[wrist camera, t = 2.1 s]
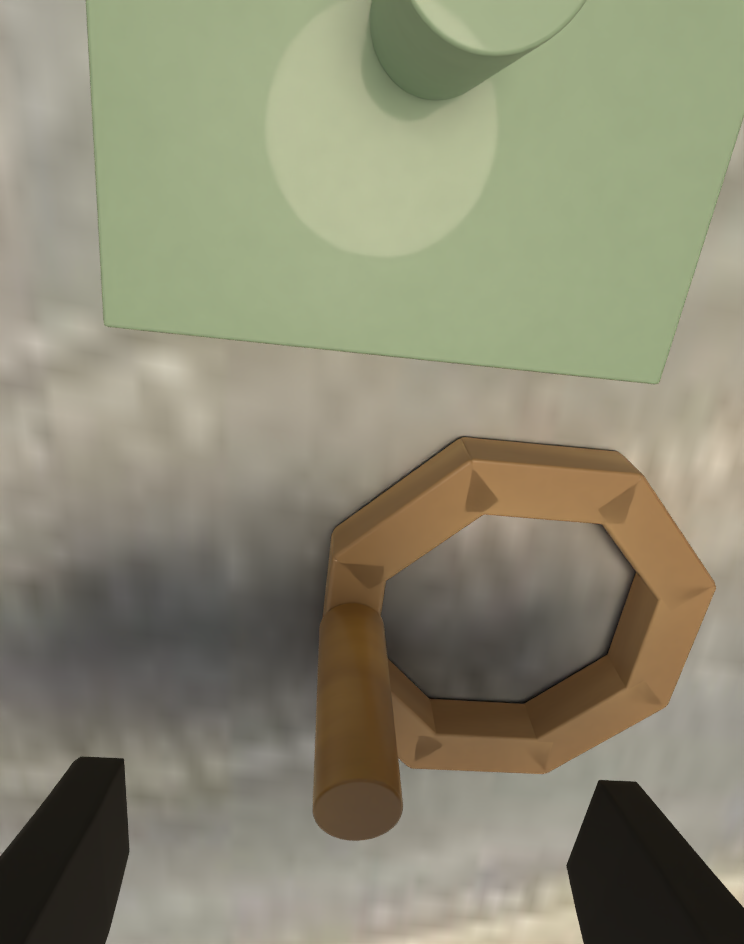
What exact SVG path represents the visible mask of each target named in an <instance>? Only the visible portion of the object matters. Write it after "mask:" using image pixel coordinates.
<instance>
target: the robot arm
mask: <svg viewBox="0 0 744 944" xmlns="http://www.w3.org/2000/svg"><path fill="white" fill-rule="evenodd" d="M128 855H129V835H128V818H127V802H126V785H125V768H124V759H123V758H101V757H80V758H78V759H77V760H75V761H74V762H73V763H72V764H71V766H70V767H69V769H68V770H67V771H66V773H65V774H64V775H63V777H62V778H61V779H60V781H59V782H58V783H57V785H56V786H55V787H54V789H53V790H52V791H51V793H50V794H49V795H48V797H47V798H46V799H45V801H44V802H43V803H42V804H41V806H40V807H39V808H38V810H37V811H36V812H35V814H34V815H33V816H32V817H31V819H30V820H29V821H28V822H27V824H26V825H25V826H24V827H23V829H22V830H21V831H20V832H19V834H18V835H17V836H16V837H15V839H14V840H13V841H12V842H11V844H10V845H9V846H8V847H7V849H6V850H5V851H4V852H3V854H2V855H1V856H0V944H105V942H106V940H107V937H108V934H109V931H110V927H111V923H112V919H113V915H114V911H115V907H116V904H117V900H118V896H119V892H120V888H121V884H122V880H123V876H124V871H125V867H126V863H127V859H128ZM566 866H567V870H568V875H569V880H570V885H571V889H572V894H573V899H574V904H575V908H576V913H577V917H578V921H579V925H580V930H581V934H582V938H583V942H584V944H744V908H743V907H742V905H741V904H740V903H739V902H738V901H737V900H736V899H735V897H734V896H733V895H732V894H731V893H730V892H729V890H728V889H727V888H726V887H725V886H724V885H723V884H722V882H721V881H720V880H719V879H718V878H717V877H716V875H715V874H714V873H713V872H712V871H711V869H710V868H709V867H708V866H707V865H706V864H705V862H704V861H703V860H702V859H701V858H700V857H699V855H698V854H697V853H696V852H695V851H694V849H693V848H692V847H691V846H690V845H689V844H688V842H687V841H686V840H685V839H684V838H683V836H682V835H681V834H680V833H679V832H678V830H677V829H676V828H675V827H674V826H673V825H672V823H671V822H670V821H669V820H668V819H667V817H666V816H665V815H664V814H663V813H662V811H661V810H660V809H659V808H658V807H657V805H656V804H655V803H654V802H653V801H652V800H651V798H650V797H649V796H648V795H647V794H646V793H645V791H644V790H643V789H642V788H641V787H640V786H639V784H638V783H637V782H631V781H609V780H599V781H598V783H597V786H596V789H595V791H594V794H593V797H592V799H591V802H590V805H589V807H588V810H587V813H586V815H585V818H584V820H583V823H582V826H581V828H580V831H579V834H578V836H577V839H576V842H575V844H574V847H573V849H572V852H571V855H570V857H569V860H568V863H567V865H566Z"/></svg>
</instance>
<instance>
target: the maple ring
mask: <svg viewBox="0 0 744 944" xmlns="http://www.w3.org/2000/svg"><path fill="white" fill-rule="evenodd" d="M483 514H486V515H498V516H510V517H522V518H535V519H547V520H559V521H571V522H583V523H595V524H602V525H603V527H604V528H605V530H606V531H607V532H608V534H609V535H610V536H611V538H612V539H613V541H614V542H615V543H616V545H617V546H618V547H619V549H620V550H621V552H622V553H623V554H624V556H625V557H626V558H627V560H628V561H629V563H630V564H631V565H632V567H633V568H634V569H635V571H636V574H635V577H634V580H633V583H632V586H631V588H630V591H629V594H628V597H627V600H626V603H625V606H624V609H623V612H622V614H621V617H620V620H619V623H618V626H617V629H616V632H615V635H614V638H613V640H612V643H611V646H610V649H609V652H608V654H607V655H606V656H604V657H602V658H601V659H599V660H597V661H596V662H594V663H592V664H591V665H589V666H587V667H585V668H584V669H582V670H580V671H579V672H577V673H575V674H574V675H572V676H570V677H569V678H567V679H565V680H563V681H562V682H560V683H558V684H557V685H555V686H553V687H552V688H550V689H548V690H547V691H545V692H543V693H541V694H540V695H538V696H536V697H535V698H533V699H531V700H530V701H528V702H526V703H525V704H519V703H500V702H482V701H463V700H444V699H429V698H428V697H427V696H426V695H425V694H424V693H423V692H422V691H421V690H420V689H419V688H418V687H417V686H416V685H414V684H413V683H412V682H411V681H410V680H409V679H408V678H407V677H406V676H405V675H404V674H403V673H402V672H401V671H400V670H399V669H398V668H397V667H396V666H395V665H394V664H393V663H392V662H391V661H390V660H389V659H388V658H387V649H386V640H385V630H384V623H383V620H382V618H381V611H382V604H383V598H384V591H385V585H386V581H387V580H388V579H390V578H391V577H392V576H394V575H395V574H397V573H398V572H400V571H401V570H403V569H404V568H406V567H407V566H409V565H410V564H411V563H413V562H414V561H416V560H417V559H419V558H420V557H422V556H423V555H425V554H426V553H428V552H429V551H431V550H432V549H433V548H435V547H436V546H438V545H439V544H441V543H442V542H444V541H445V540H447V539H448V538H450V537H451V536H453V535H454V534H455V533H457V532H458V531H460V530H461V529H463V528H464V527H466V526H467V525H469V524H470V523H472V522H473V521H475V520H476V519H477V518H479V517H480V516H482V515H483ZM715 589H716V586H715V582H714V580H713V579H712V577H711V576H710V574H709V573H708V571H707V570H706V568H705V567H704V565H703V564H702V562H701V561H700V559H699V558H698V556H697V555H696V553H695V552H694V550H693V549H692V547H691V546H690V544H689V543H688V541H687V540H686V538H685V537H684V535H683V534H682V532H681V531H680V529H679V528H678V526H677V525H676V523H675V522H674V520H673V519H672V517H671V516H670V514H669V513H668V511H667V510H666V508H665V507H664V505H663V504H662V502H661V501H660V499H659V498H658V496H657V495H656V493H655V492H654V490H653V489H652V487H651V486H650V484H649V483H648V481H647V480H646V478H645V477H644V475H643V474H642V473H641V472H640V471H639V470H638V469H637V468H635V467H634V466H633V465H632V464H631V463H630V462H629V461H628V460H627V459H626V458H625V457H624V456H623V455H622V454H620V453H619V452H616V451H606V450H595V449H584V448H574V447H563V446H552V445H542V444H531V443H520V442H510V441H499V440H488V439H478V438H467V437H462V438H461V439H458V440H456V441H455V442H454V443H452V444H451V445H449V446H448V447H447V448H445V449H444V450H442V451H441V452H440V453H438V454H437V455H436V456H434V457H433V458H431V459H430V460H429V461H427V462H426V463H424V464H423V465H422V466H420V467H419V468H418V469H416V470H415V471H413V472H412V473H411V474H409V475H408V476H406V477H405V478H404V479H402V480H401V481H400V482H398V483H397V484H395V485H394V486H393V487H391V488H390V489H388V490H387V491H386V492H384V493H383V494H381V495H380V496H379V497H377V498H376V499H375V500H373V501H372V502H370V503H369V504H368V505H366V506H365V507H363V508H362V509H361V510H359V511H358V512H357V513H355V514H354V515H352V516H351V517H350V518H348V519H347V520H345V521H344V522H343V523H341V524H340V525H339V526H337V527H336V528H335V529H334V530H333V533H332V535H331V544H330V553H329V563H328V572H327V581H326V591H325V600H324V609H323V619H322V621H321V623H320V627H319V652H318V679H317V705H316V732H315V759H314V786H313V816H314V819H315V821H316V823H317V824H318V826H319V827H320V828H321V829H322V830H323V831H324V832H326V833H327V834H329V835H331V836H333V837H336V838H339V839H344V840H352V841H359V840H367V839H372V838H375V837H378V836H380V835H382V834H384V833H386V832H388V831H389V830H390V829H392V828H393V827H394V826H395V825H396V824H397V822H398V821H399V819H400V817H401V814H402V811H403V800H402V791H401V781H400V772H399V763H398V758H399V759H400V760H401V761H402V762H403V763H404V764H406V765H407V766H408V767H410V768H413V769H437V770H460V771H484V772H507V773H531V774H544V773H548V772H550V771H552V770H553V769H555V768H557V767H559V766H561V765H562V764H564V763H566V762H568V761H570V760H571V759H573V758H575V757H577V756H579V755H580V754H582V753H584V752H586V751H588V750H589V749H591V748H593V747H595V746H597V745H598V744H600V743H602V742H604V741H606V740H607V739H609V738H611V737H613V736H615V735H616V734H618V733H620V732H622V731H624V730H625V729H627V728H629V727H631V726H633V725H634V724H636V723H638V722H640V721H642V720H643V719H645V718H647V717H649V716H650V715H652V714H654V713H656V712H658V711H659V710H661V709H663V708H665V707H666V705H668V703H669V701H670V698H671V696H672V693H673V691H674V689H675V686H676V684H677V681H678V679H679V677H680V674H681V672H682V669H683V667H684V664H685V662H686V660H687V657H688V655H689V652H690V650H691V647H692V645H693V643H694V640H695V638H696V635H697V633H698V631H699V628H700V626H701V623H702V621H703V618H704V616H705V614H706V611H707V609H708V606H709V604H710V601H711V599H712V597H713V594H714V592H715Z"/></svg>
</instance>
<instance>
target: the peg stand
mask: <svg viewBox="0 0 744 944" xmlns="http://www.w3.org/2000/svg"><path fill="white" fill-rule="evenodd" d="M86 14H87V32H88V50H89V68H90V86H91V104H92V122H93V140H94V158H95V176H96V194H97V212H98V230H99V248H100V266H101V284H102V302H103V320H104V325H105V326H107V327H114V328H123V329H133V330H142V331H152V332H161V333H171V334H180V335H190V336H199V337H209V338H219V339H228V340H238V341H247V342H257V343H266V344H276V345H285V346H295V347H304V348H314V349H323V350H333V351H342V352H352V353H362V354H371V355H381V356H390V357H400V358H409V359H419V360H428V361H438V362H447V363H457V364H466V365H476V366H485V367H495V368H505V369H514V370H524V371H533V372H543V373H552V374H562V375H571V376H581V377H590V378H600V379H609V380H619V381H628V382H638V383H648V384H658V383H659V382H660V379H661V376H662V373H663V369H664V366H665V363H666V360H667V357H668V354H669V351H670V347H671V344H672V341H673V338H674V335H675V332H676V329H677V325H678V322H679V319H680V316H681V313H682V310H683V307H684V303H685V300H686V297H687V294H688V291H689V288H690V284H691V281H692V278H693V275H694V272H695V269H696V266H697V262H698V259H699V256H700V253H701V250H702V247H703V244H704V240H705V237H706V234H707V231H708V228H709V225H710V221H711V218H712V215H713V212H714V209H715V206H716V203H717V199H718V196H719V193H720V190H721V187H722V184H723V181H724V177H725V174H726V171H727V168H728V165H729V162H730V158H731V155H732V152H733V149H734V146H735V143H736V140H737V136H738V133H739V130H740V127H741V124H742V121H743V118H744V0H86Z"/></svg>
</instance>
